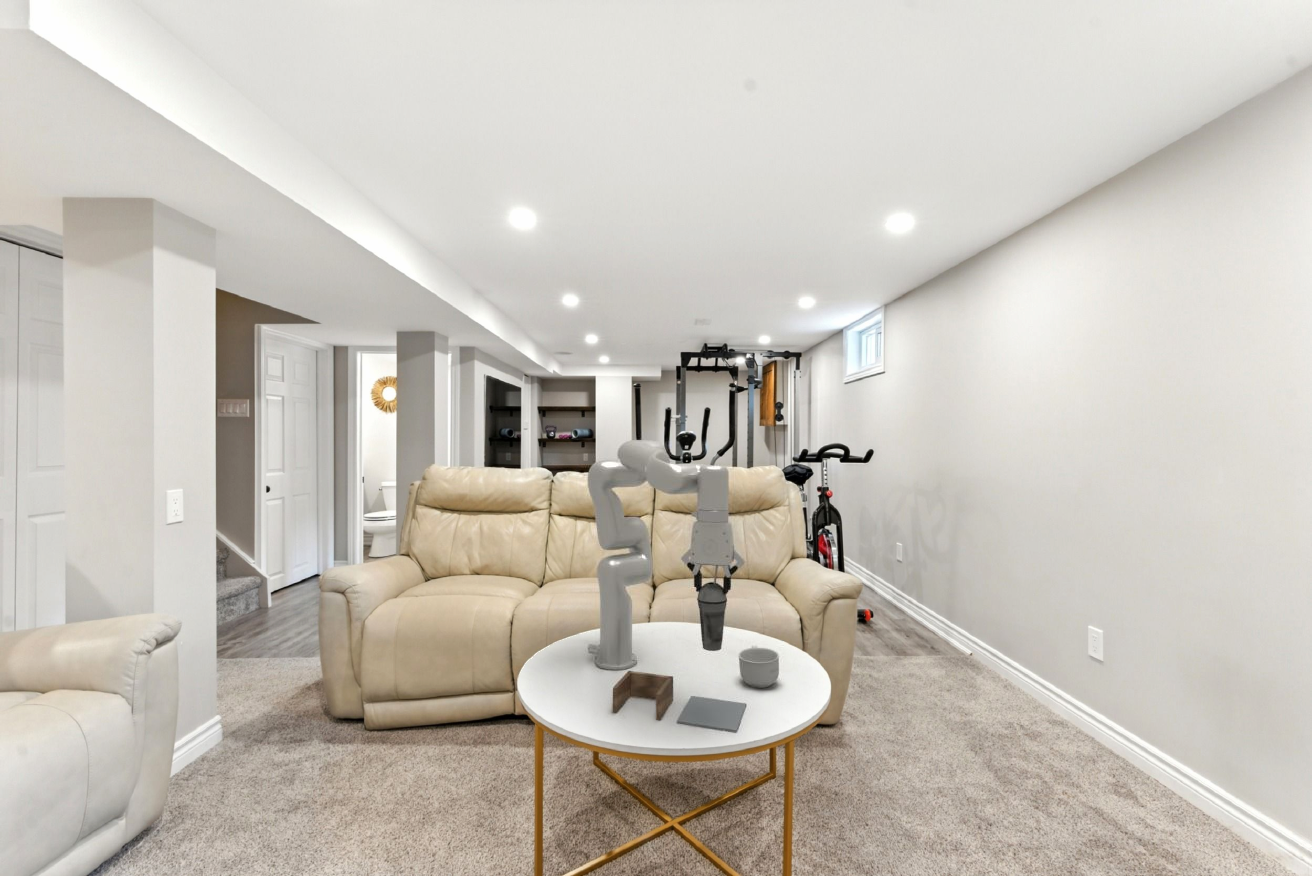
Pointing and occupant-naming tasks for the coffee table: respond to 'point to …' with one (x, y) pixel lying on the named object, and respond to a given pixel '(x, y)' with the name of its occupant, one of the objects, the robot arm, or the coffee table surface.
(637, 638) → the coffee table surface
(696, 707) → the slate mat
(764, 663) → the teacup
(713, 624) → the beverage cup
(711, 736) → the coffee table surface
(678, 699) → the coffee table surface
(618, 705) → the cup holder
